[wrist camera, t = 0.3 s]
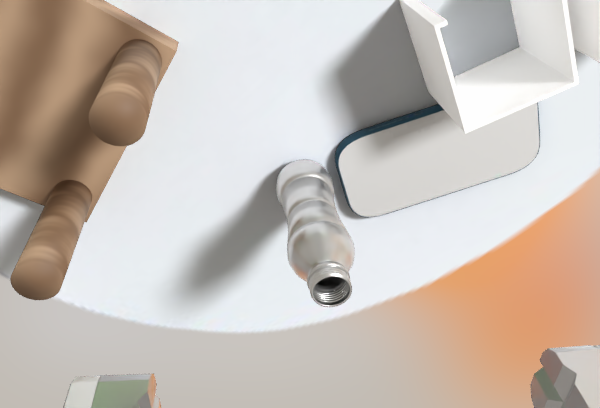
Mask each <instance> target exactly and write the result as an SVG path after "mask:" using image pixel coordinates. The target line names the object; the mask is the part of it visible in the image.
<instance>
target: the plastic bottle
mask: <svg viewBox="0 0 600 408" xmlns="http://www.w3.org/2000/svg"><path fill="white" fill-rule="evenodd" d="M276 194H277V197H278V200H279V202H280V204H281V206H282V208H283V209H284V212H285V215H286V218H287V225H288V244H287V253H288V261H289V264H290V266H291V267H292V269H293V270H294V272H295V273H296V274H297V275H298V276H299V277H300V278H301V279H303V280H304V281H306V282H307V285H308V288H309V289H310V293H311V296H312V298H313V300H314V301H315V302H316V303H317V304H319V305H321V306H325V307H334V306H338V305H341V304H342V303H344V302H345V301H347V300H348V298H349V297H350V295H351V292H352V286H351V282H350V276H349V273H348V272H349V270H350V268H351V267H352V265H353V261H354V254H355V248H354V244H353V241H352V239H351V237H350V235H349V233H348V232H347V230H346V228H345V227H344V225H343V224H342V222H341V220H340V218H339V215H338V213H337V211H336V208H335V202H334V186H333V181H332V178H331V176H330V175H329V173H328V172H327V171H326V169H325V168H324V167H323V166H322V165H321V164H319V163H317V162H315V161H312V160H307V159H302V160H296V161H293V162H291V163H289V164H288V165H286V166H285V167H284V168H283V169H282V170H281V172H280V173H279V175H278V178H277V185H276Z"/></svg>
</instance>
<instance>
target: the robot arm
mask: <svg viewBox="0 0 600 408" xmlns="http://www.w3.org/2000/svg"><path fill="white" fill-rule="evenodd" d="M540 362H541V364H542V365H543V368H541V369H540V370H539V371H537V372H536V373H535V374H534V376H533V379H532V382H531V398H532V401H533V405H534V408H600V345H598V346H590V345H588V346H576V347H563V348H562V347H561V348H549V349H547V350H545V351H544V352H543V353H542V356H541V358H540ZM156 385H157V384H156V380H155V376H154V374H127V375H100V376H80V377H75V378H74V380H73V381H72V383H71V384H70V387H69V390H68V394H67V397H66V400H65V403H64V406H63V408H161V404H160V399H159V398H158V397H157V396H156V395H155V391H156Z"/></svg>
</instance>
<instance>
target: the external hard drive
mask: <svg viewBox="0 0 600 408" xmlns="http://www.w3.org/2000/svg"><path fill="white" fill-rule="evenodd" d="M382 130H383V131H382ZM539 148H540V129H539V111H538V102H537V103H534V104H532V105H530V106H528V107H525V108H523V109H521V110H518V111H516V112H514V113H512V114H509V115H507V116H505V117H503V118H500V119H498V120H496V121H493V122H491V123H489V124H487V125H484V126H482V127H480V128H478V129H475V130H473V131H471V132H468V133H466V134H465V133H464V132H463V130H462V129H461V128H460V127H459V126H458V125H457V124H456V123H455V121H454V120H453V119H452V118H451V117H450V116H449V115H448V114H447V112H446V111H445V110H444V109H443V108H442V107H441V106H440V105H439V104H438V105H435V106H432V107H429V108H426V109H423V110H420V111H417V112H414V113H411V114H408V115H405V116H402V117H399V118H396V119H393V120H390V121H387V122H384V123H381V124H377V125H374V126H371V127H368V128H365V129H363V130H360V131H357V132H355V133H353V134H351V135H349V136H348V137H346V138H345V139H344V140H343V141H342V142H341V143H340V144H339V146H338V147H337V150H336V153H335V163H336V168H337V171H338V174H339V177H340V181H341V184H342V187H343V191H344V194H345V197H346V200H347V203H348V205H349V207H350V208H351V210H352V211H353V212H354V213H356V214H357V215H359V216H362V217H376V216H381V215H385V214H388V213H391V212H395V211H398V210H401V209H404V208H407V207H410V206H413V205H416V204H419V203H422V202H426V201H429V200H432V199H435V198H438V197H441V196H444V195H447V194H450V193H454V192H457V191H460V190H463V189H466V188H469V187H472V186H475V185H478V184H482V183H485V182H488V181H491V180H494V179H497V178H500V177H503V176H506V175H509V174H512V173H515V172H517V171H519V170H521V169H523V168H525V167H526V166H528V165H529V164H530V163H531V162H532V161H533V160H534V159H535V158H536V156H537V154H538V152H539Z"/></svg>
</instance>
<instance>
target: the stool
mask: <svg viewBox="0 0 600 408" xmlns="http://www.w3.org/2000/svg"><path fill="white" fill-rule="evenodd" d="M177 46H178V42H177V41H176V40H174V39H172V38H170V37H169V36H167V35H165V34H163V33H161V32H160V31H158V30H156V29H154V28H152V27H151V26H149V25H147V24H145V23H143V22H142V21H140V20H138V19H136V18H135V17H133V16H131V15H129V14H127V13H126V12H124V11H122V10H120V9H118V8H117V7H115V6H113V5H111V4H109V3H108V2H106V1H104V0H0V189H3V190H6V191H8V192H11V193H13V194H16V195H18V196H21V197H23V198H26V199H28V200H31V201H33V202H36V203H39V204H41V205H44V206H45V207H44V209H43V211H42V213H41V215H40V217H39V219H38V221H37V223H36V225H35V227H34V229H33V231H32V234H31V236H30V238H29V240H28V242H27V244H26V246H25V248H24V250H23V252H22V254H21V256H20V258H19V260H18V262H17V264H16V266H15V269H14V271H13V273H12V275H11V284H12V287H13V288H14V289H15V291H17V292H18V293H19V294H20V295H22V296H24V297H26V298H29V299H33V300H45V299H49V298H52V297H54V296H55V295H56V294H57V293H58V292H59V291H60V288H61V286H62V283H63V280H64V277H65V275H66V272H67V269H68V266H69V263H70V261H71V258H72V255H73V252H74V249H75V247H76V244H77V241H78V238H79V236H80V233H81V230H82V227H83V224H84V222H87V220H88V218H89V217H90V215H91V213H92V211H93V209H94V207H95V205H96V203H97V201H98V199H99V198H100V196H101V194H102V192H103V190H104V188H105V186H106V184H107V182H108V180H109V179H110V177H111V175H112V173H113V171H114V169H115V167H116V165H117V163H118V161H119V160H120V158H121V156H122V154H123V152H124V150H125V148H126V146H128V145H131V144H133V143H135V142H137V141H138V140H139V139H140V138H141V137H142V136H143V134H144V132H145V129H146V125H147V121H148V117H149V113H150V109H151V105H152V101H153V98H154V94H155V91H156V89H157V87H158V85H159V84H160V82H161V80H162V78H163V76H164V74H165V72H166V70H167V68H168V66H169V65H170V63H171V61H172V59H173V57H174V55H175V53H176V51H177Z"/></svg>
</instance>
